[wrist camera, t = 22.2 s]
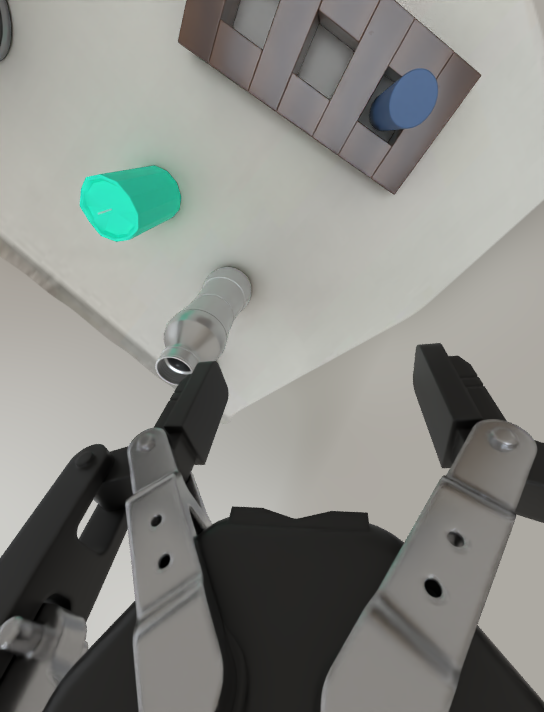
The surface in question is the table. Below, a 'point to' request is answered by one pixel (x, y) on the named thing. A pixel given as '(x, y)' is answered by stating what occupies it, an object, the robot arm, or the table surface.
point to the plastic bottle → (203, 324)
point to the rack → (368, 64)
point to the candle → (129, 201)
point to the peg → (405, 102)
